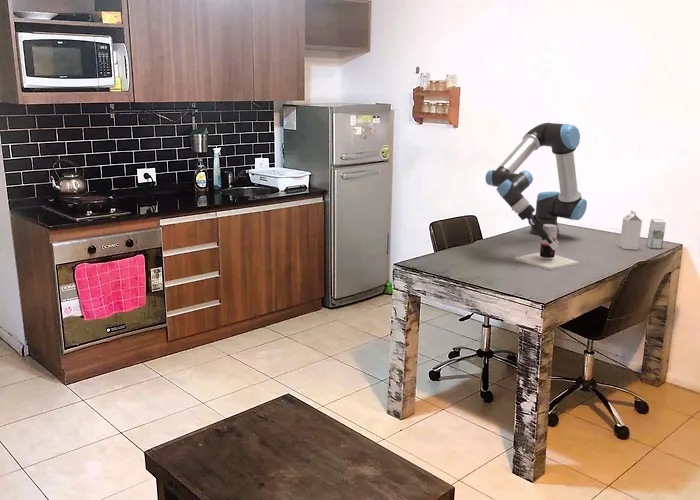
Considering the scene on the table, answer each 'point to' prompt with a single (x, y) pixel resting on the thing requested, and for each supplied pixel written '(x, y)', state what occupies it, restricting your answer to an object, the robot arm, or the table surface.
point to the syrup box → (656, 233)
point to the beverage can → (545, 248)
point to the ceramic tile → (547, 261)
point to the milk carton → (630, 231)
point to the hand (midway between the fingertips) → (556, 246)
